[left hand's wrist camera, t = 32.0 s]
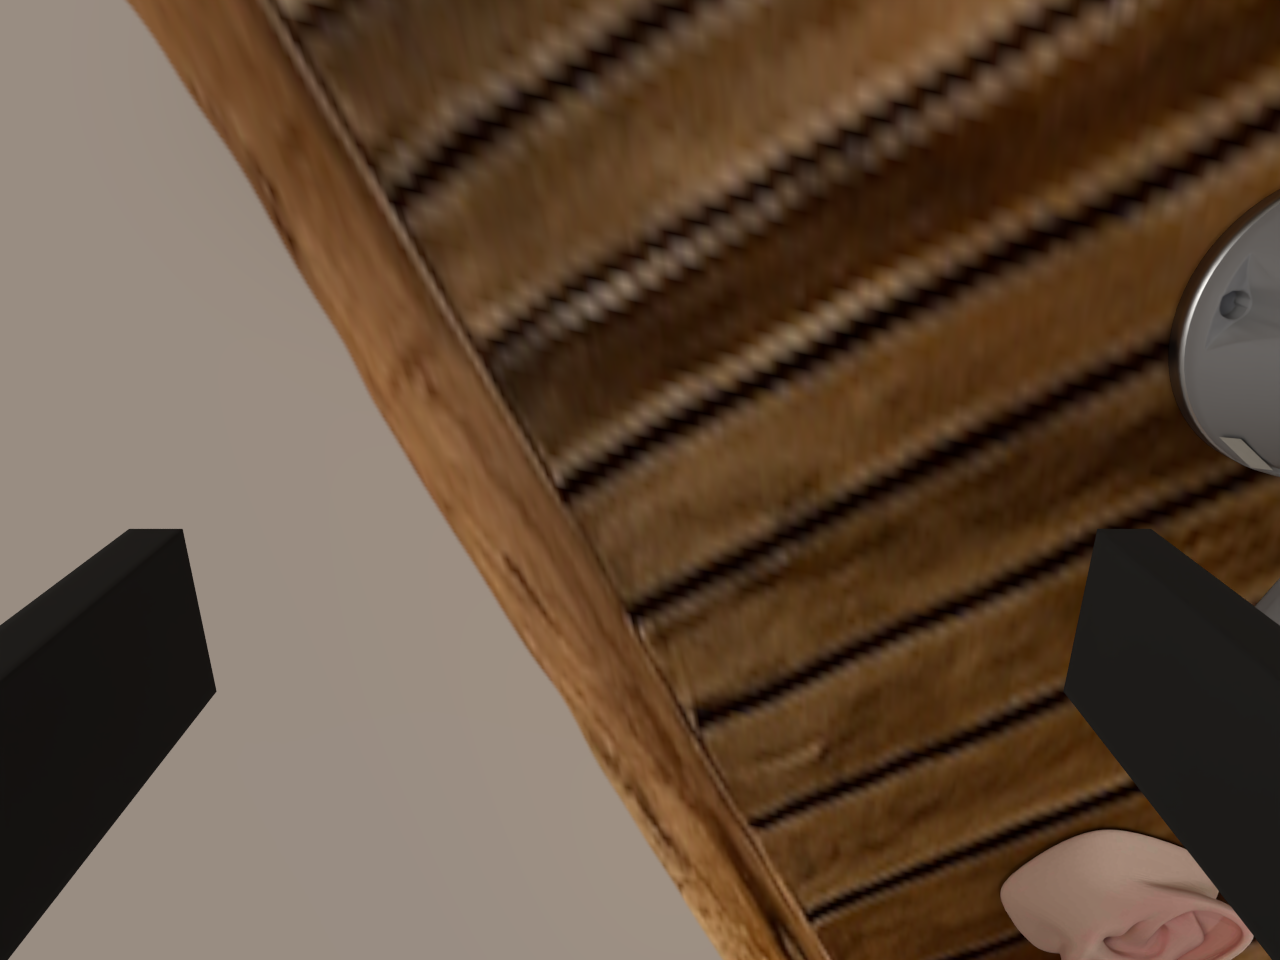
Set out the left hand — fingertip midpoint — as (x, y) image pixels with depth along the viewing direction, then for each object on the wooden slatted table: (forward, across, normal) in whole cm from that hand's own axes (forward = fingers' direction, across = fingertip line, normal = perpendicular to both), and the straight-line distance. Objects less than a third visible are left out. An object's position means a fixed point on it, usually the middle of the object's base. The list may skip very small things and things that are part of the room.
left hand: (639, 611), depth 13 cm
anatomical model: (+32, +31, -40) cm, 60 cm away
